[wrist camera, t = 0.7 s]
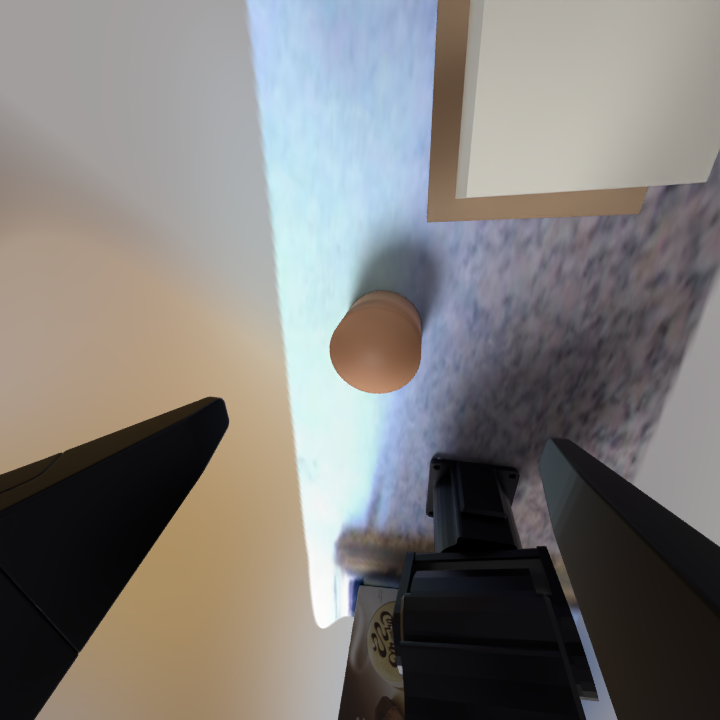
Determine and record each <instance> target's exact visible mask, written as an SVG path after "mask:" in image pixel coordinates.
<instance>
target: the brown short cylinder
mask: <svg viewBox="0 0 720 720" xmlns="http://www.w3.org/2000/svg"><path fill="white" fill-rule="evenodd" d="M421 339H422V323H421V318H420V315H419V313H418V311H417V309H416V308H415V306H414V305H413V304H412V303H411V302H410V301H409V300H408V299H407V298H405V297H404V296H402V295H400V294H398V293H395V292H391V291H374V292H370V293H367V294H365V295H363V296H362V297H360V298H359V299H358V300H357V301H356V302H355V303H354V304H353V305H352V307H351V308H350V309H349V311H348V312H347V314H346V315H345V316H344V318H343V319H342V321H341V322H340V323H339V325H338V326H337V328H336V329H335V331H334V333H333V335H332V338H331V341H330V357H331V361H332V364H333V366H334V368H335V370H336V371H337V373H338V374H339V375H340V377H341V378H342V379H343V380H344V381H346V382H347V383H348V384H349V385H351V386H353V387H354V388H357V389H359V390H361V391H364V392H368V393H379V394H381V393H388V392H392V391H395V390H398V389H400V388H402V387H403V386H405V385H406V384H407V383H409V382H410V381H411V379H412V378H413V377H414V376H415V374H416V373H417V370H418V368H419V365H420V360H421Z"/></svg>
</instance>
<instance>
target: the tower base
mask: <svg viewBox="0 0 720 720" xmlns="http://www.w3.org/2000/svg"><path fill="white" fill-rule="evenodd" d="M469 13H470V0H438V9H437V29H436V49H435V69H434V89H433V109H432V129H431V149H430V169H429V189H428V208H427V222H446V221H471V220H497V219H523V218H549V217H575V216H600V215H626V214H639V213H640V210H641V207H642V204H643V201H644V198H645V195H646V192H647V190H648V187H649V186H646V187H632V188H617V189H602V190H586V191H570V192H554V193H539V194H523V195H507V196H491V197H476V198H460V199H455V195H456V182H457V169H458V156H459V143H460V130H461V117H462V104H463V91H464V78H465V65H466V52H467V39H468V26H469Z"/></svg>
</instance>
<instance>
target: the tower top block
mask: <svg viewBox="0 0 720 720" xmlns="http://www.w3.org/2000/svg"><path fill="white" fill-rule="evenodd" d="M719 149H720V0H470V13H469V26H468V39H467V52H466V65H465V78H464V91H463V104H462V117H461V130H460V143H459V156H458V169H457V182H456V195H455V199H460V198H476V197H491V196H507V195H523V194H539V193H554V192H570V191H586V190H602V189H617V188H632V187H646V186H659V185H673V184H687V183H701V182H707V179H708V177H709V174H710V172H711V169H712V167H713V164H714V162H715V159H716V157H717V154H718V152H719Z"/></svg>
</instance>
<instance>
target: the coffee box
mask: <svg viewBox="0 0 720 720" xmlns="http://www.w3.org/2000/svg"><path fill="white" fill-rule="evenodd" d="M397 593H398V589H392V588H382V587H372V586H362V585H360V586H359V591H358V597H357V604H356V610H355V616H354V623H353V628H352V635H351V642H350V647H349V654H348V660H347V667H346V672H345V679H344V685H343V691H342V697H341V703H340V710H339V716H338V720H405V709H404V685H403V679H402V677H401V675H400V673H399V670H398V667H397V662H396V657H395V649H394V643H393V642H392V640H391V627H392V615H393V611H394V606H395V602H396V597H397Z"/></svg>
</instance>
